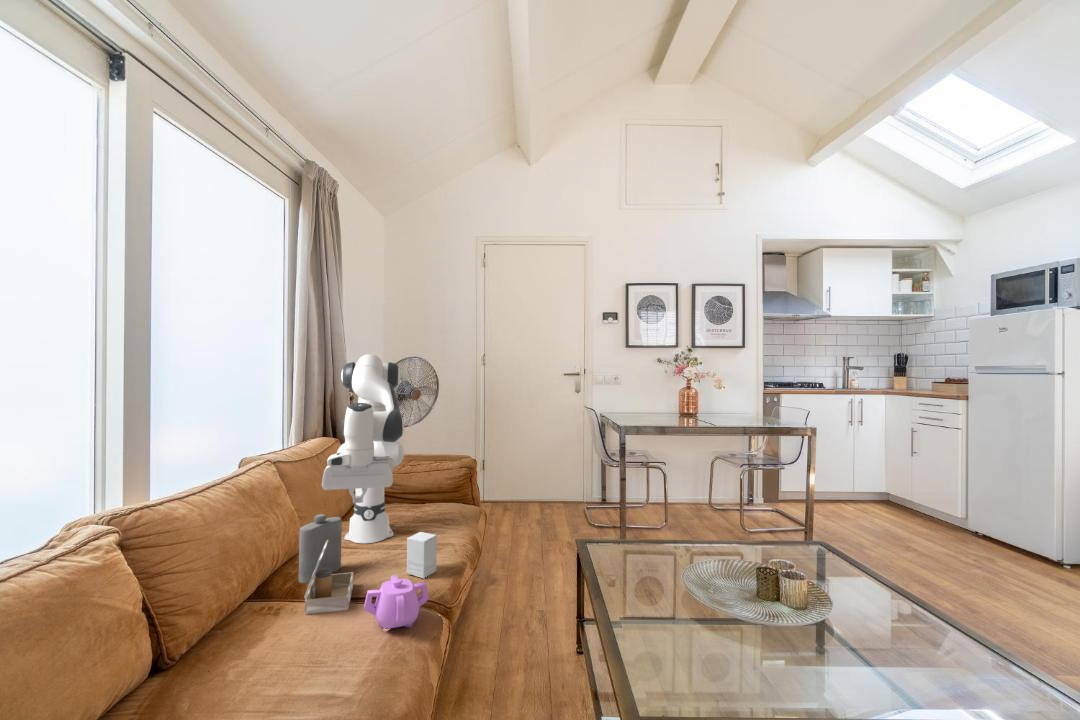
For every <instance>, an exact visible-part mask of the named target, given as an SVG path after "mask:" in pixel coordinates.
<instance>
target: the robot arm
mask: <svg viewBox="0 0 1080 720" xmlns="http://www.w3.org/2000/svg"><path fill="white" fill-rule="evenodd" d="M401 373H402V372H401V370H400V368H399V365H398V364H397V363H394V362H384V361H382V360H381V358H380V357H379V356H377V355H376V354H372V353H369V354H368V353H367V354H364V355H362V356H360V357H359V359H357V362H355V361H354V362H352V361H351V362H347V363H345V365H343V367H342V370H341V373H340V379H341V382H342V384H343V387H344V388H345V389H350V390H352V391H353V393H354V394H355V395H356V396H357V399H358V400H357V402H356V403H352V404H351V403H350V404H349V405H347V407H346V411H345V415H344V418H342V420H341V436H342V437H343V438H344V442H343V443H342V444H341V445H340V446H339V448H338V449H337V451H336V453H333V454H331V455H330V456H328V458H327V459H326V463H327V466H326V467H325V469H323V470H324V471H323V474H322V479H321V480H322V481H321V488H322V489H323V490H324V491H330V490H331V491H332V490H334V491H335V490H348V494H349V495H350V496H351V498H352V503H353V506H354V507H353V515H352V516H351V517H350V518H349V528H348V529H349V531H347V533H346V534H345V535H344V538H343V540H345V541H346V540H347V541H351V542H353V543H355V544H372V543H374V544H375V543H378V542H381V541H384V540H386V539H388V538H391V537H394V532H393V530H392V528H391V526H390V522H389V519H390V517H389V515H388V513H386V507H387V506H386V501H385V488H390V487H391V486H392V485H394V482H393V481H394V478H393V476H394V475H393V470H394V469H395V467H396V466H397V467H398V466H399V465H400V464H401V463H402V461H403V459H404V456H405V450H404V446H403V445H402V444H401V443H400V442H399V441H398V440H399V439H400V438H401V437H402V436H403V434H404V431H405V422H404V419H403V416H402V413H401V411H400V408H399V402H398V398H397V395H396V391H395V388H396V387H398V386H399V383H400V382H401V376H402V374H401ZM354 492H355V493H354Z"/></svg>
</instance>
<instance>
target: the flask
mask: <svg viewBox="0 0 1080 720" xmlns="http://www.w3.org/2000/svg"><path fill="white" fill-rule="evenodd" d="M313 520H314V521H312V522H310V523H307V524H305V525H303V526H301V527H300V528H299V540H298V541H299V543H298V545H299V546H298V547H299V549H298V550H299V551H298V583H300V584H309V583H310V580H311V578H312V575H313V572H314V570H315V567H316V565H317V562H318V560H319V557H320V555H321V552H322V550H323V547H324V545H325V543H326V541H327V540H328V543H327V545H326V548H325V551H324V553H323V556H322V558H321V561H320V563H319V566H318V568H317V571H316V573H317V572H318V571H321V570H331V571H332V573H334V572H339V571H340V570H341V569H340V568H342V532H343V530H342V529H343V528H342V526H343V520H342V517H339V516H332V517H327V515H325V514H324V513H320V514H316V515H315V516H314V519H313ZM339 569H340V570H339ZM338 570H339V571H338ZM316 573H315V576H316Z"/></svg>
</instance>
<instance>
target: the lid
mask: <svg viewBox="0 0 1080 720" xmlns="http://www.w3.org/2000/svg"><path fill="white" fill-rule="evenodd" d="M327 543H328V540H327V541H326V543H325V545H324V547H323V550H322V552H321V555H320V557H319V560H318V562H317V565H316V567H315V570H314V572H313V575H312V578H311V580H310V582H309V583H308V586H307V589H306V591H305V594H304V596H303V599H306V596H307V594H308V591H309V588H310V586H311V583H312V581H313V578H314V576H315V573H316V571H317V568H318V566H319V563H320V561H321V558H322V556H323V553H324V551H325V548H326V545H327Z"/></svg>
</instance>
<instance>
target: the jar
mask: <svg viewBox="0 0 1080 720" xmlns="http://www.w3.org/2000/svg"><path fill="white" fill-rule="evenodd" d="M332 574H333V572H332V571H331V570H321V571H318V572H317V573H316V593H315V599H316V598H325V597H331V592H332Z"/></svg>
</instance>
